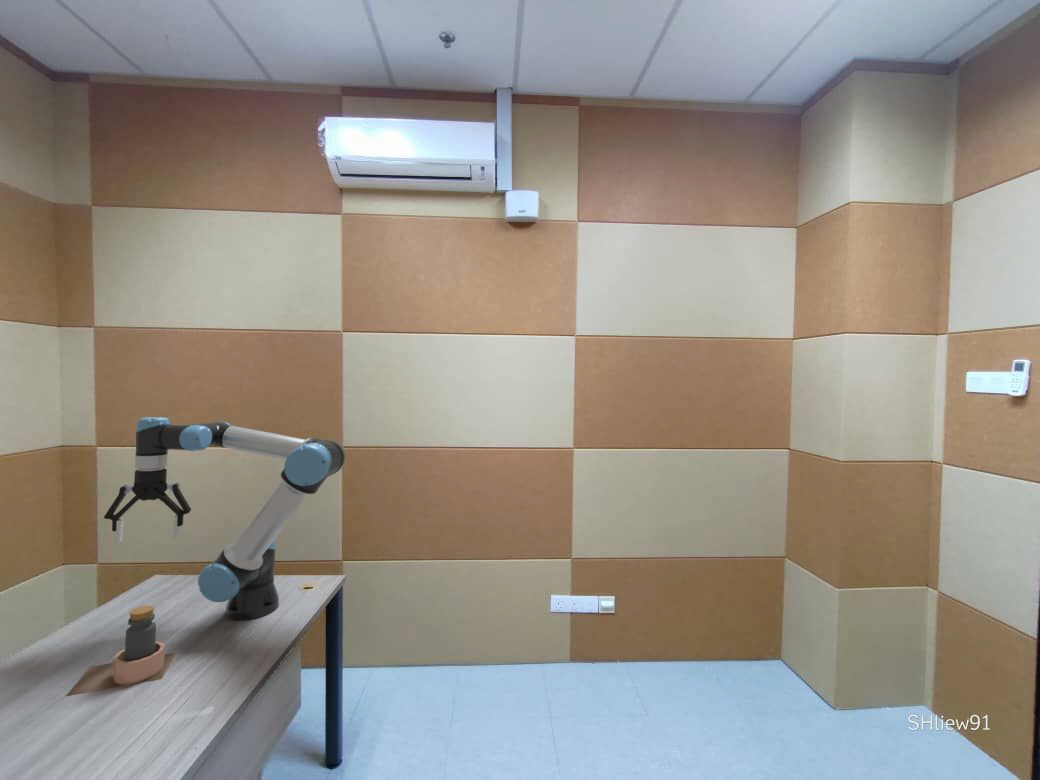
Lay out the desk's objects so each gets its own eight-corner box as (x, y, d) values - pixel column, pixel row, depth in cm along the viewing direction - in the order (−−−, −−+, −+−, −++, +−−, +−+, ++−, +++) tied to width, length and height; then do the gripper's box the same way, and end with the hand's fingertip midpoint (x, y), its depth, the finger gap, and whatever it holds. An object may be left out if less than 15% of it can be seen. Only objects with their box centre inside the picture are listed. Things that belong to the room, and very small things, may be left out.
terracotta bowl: (168, 657, 119) (169, 638, 119) (156, 679, 110) (156, 658, 110) (122, 665, 115) (123, 645, 115) (105, 688, 106) (106, 666, 106)
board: (176, 656, 121) (176, 652, 122) (161, 682, 110) (161, 678, 110) (90, 670, 114) (90, 666, 114) (65, 700, 103) (65, 696, 103)
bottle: (136, 678, 109) (139, 616, 110) (117, 674, 110) (120, 613, 111) (160, 664, 115) (162, 605, 115) (142, 661, 116) (144, 603, 116)
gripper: (203, 465, 144) (200, 531, 144) (102, 468, 133) (99, 539, 133) (198, 469, 137) (195, 538, 137) (91, 472, 126) (88, 548, 126)
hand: (148, 539), depth 135 cm, fingers open, 13 cm apart
